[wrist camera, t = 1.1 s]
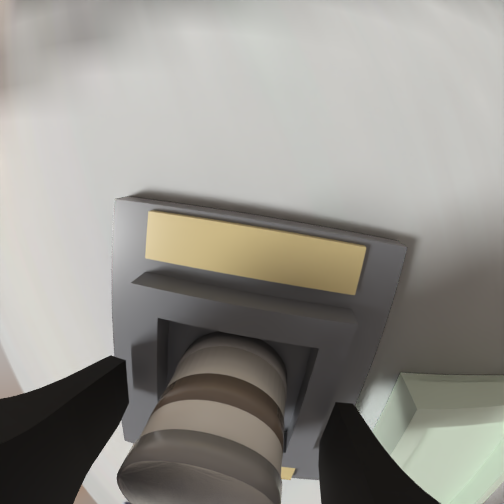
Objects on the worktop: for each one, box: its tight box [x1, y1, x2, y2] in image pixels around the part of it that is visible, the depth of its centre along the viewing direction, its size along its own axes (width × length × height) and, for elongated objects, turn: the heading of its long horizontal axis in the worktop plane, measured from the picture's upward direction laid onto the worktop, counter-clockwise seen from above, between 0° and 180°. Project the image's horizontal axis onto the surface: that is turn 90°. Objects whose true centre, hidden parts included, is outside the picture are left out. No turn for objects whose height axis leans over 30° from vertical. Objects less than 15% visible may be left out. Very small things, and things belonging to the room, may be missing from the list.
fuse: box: [117, 331, 287, 504], centre depth 9 cm, size 4×4×6 cm
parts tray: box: [372, 373, 504, 504], centre depth 12 cm, size 13×10×2 cm
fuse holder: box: [112, 196, 407, 480], centre depth 12 cm, size 12×10×2 cm
